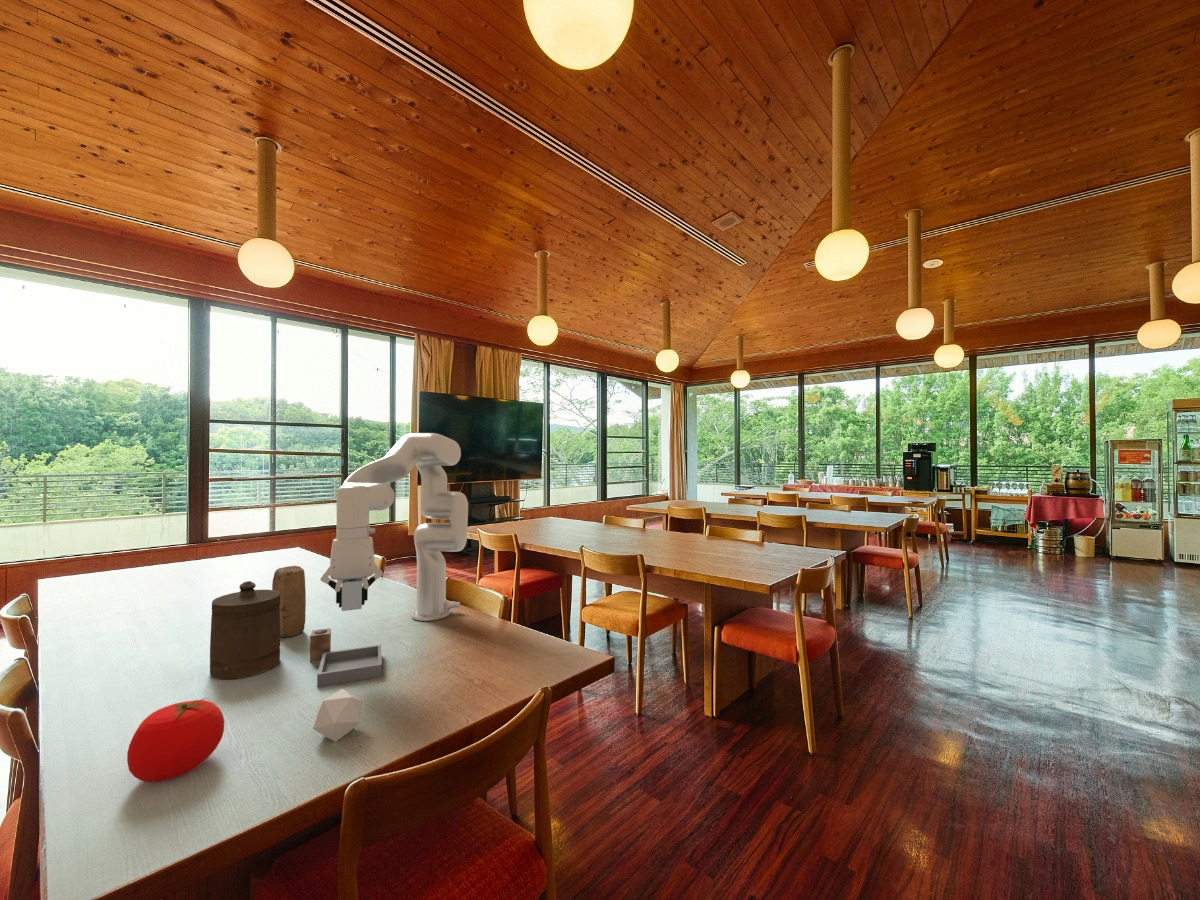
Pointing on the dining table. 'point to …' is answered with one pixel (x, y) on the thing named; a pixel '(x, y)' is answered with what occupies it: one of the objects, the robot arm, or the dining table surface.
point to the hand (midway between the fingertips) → (352, 603)
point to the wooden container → (245, 632)
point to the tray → (350, 665)
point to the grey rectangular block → (351, 594)
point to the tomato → (175, 740)
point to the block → (291, 599)
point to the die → (338, 715)
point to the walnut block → (319, 643)
